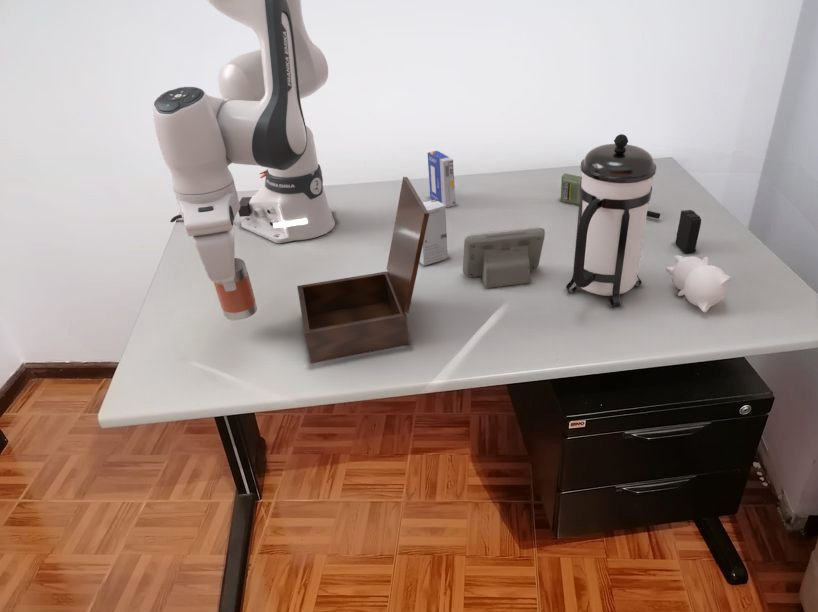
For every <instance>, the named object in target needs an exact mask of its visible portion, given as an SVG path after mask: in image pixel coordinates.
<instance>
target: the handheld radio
mask: <svg viewBox="0 0 818 612" xmlns="http://www.w3.org/2000/svg"><path fill="white" fill-rule="evenodd" d="M581 181H582V176H580V175H574V174H569V173H566V172H565V173H563V174H561V185H560V201H561V202H562V203H568V204H572V205H573V204H574V205H576V206H577V205H578V206H579V202H580V195H579V191H580V183H581ZM646 217H649V218H654V219H656V220H657V219H660V217H661V212H655V211H651V210H647V216H646Z"/></svg>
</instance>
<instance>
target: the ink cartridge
mask: <svg viewBox="0 0 818 612" xmlns="http://www.w3.org/2000/svg"><path fill="white" fill-rule="evenodd" d="M701 225H702V218H701V216H700V215H699V214H697V213H696V212H695V211H694V210H692V209H686V210H684V209H683V210H680V216H679V221H678V226H677V232H676V237H675V245H676V247H677V248H678V249H680V251H681V252H683V253H684V254H692V253H695V252H696V250H697V249H696V248H697V243H698V239H699V234H700V230H701Z"/></svg>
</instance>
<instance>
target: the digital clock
mask: <svg viewBox="0 0 818 612" xmlns="http://www.w3.org/2000/svg"><path fill="white" fill-rule="evenodd" d="M545 237H546V231H545V229H544V228H543V227H540V226H530V227H529V226H528V227H521V228H511V229H503V230H494V231H483V232H476V233H470V234H467V236H466V237H464V241H463V255H462V274H463V275H464V276H465V277H467V278H476V277H480V278H481V280H482V283H483V285H484V287H485V288H486V289H490V288H497V287H499V288H500V287H505V286H506V287H508V286H515V285H522V284H529V283H530V271H533V270H536V269H537V268H538V267H539V266H540V265H539V264H540V261H541V256H542V250H543V246H544V241H545Z"/></svg>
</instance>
